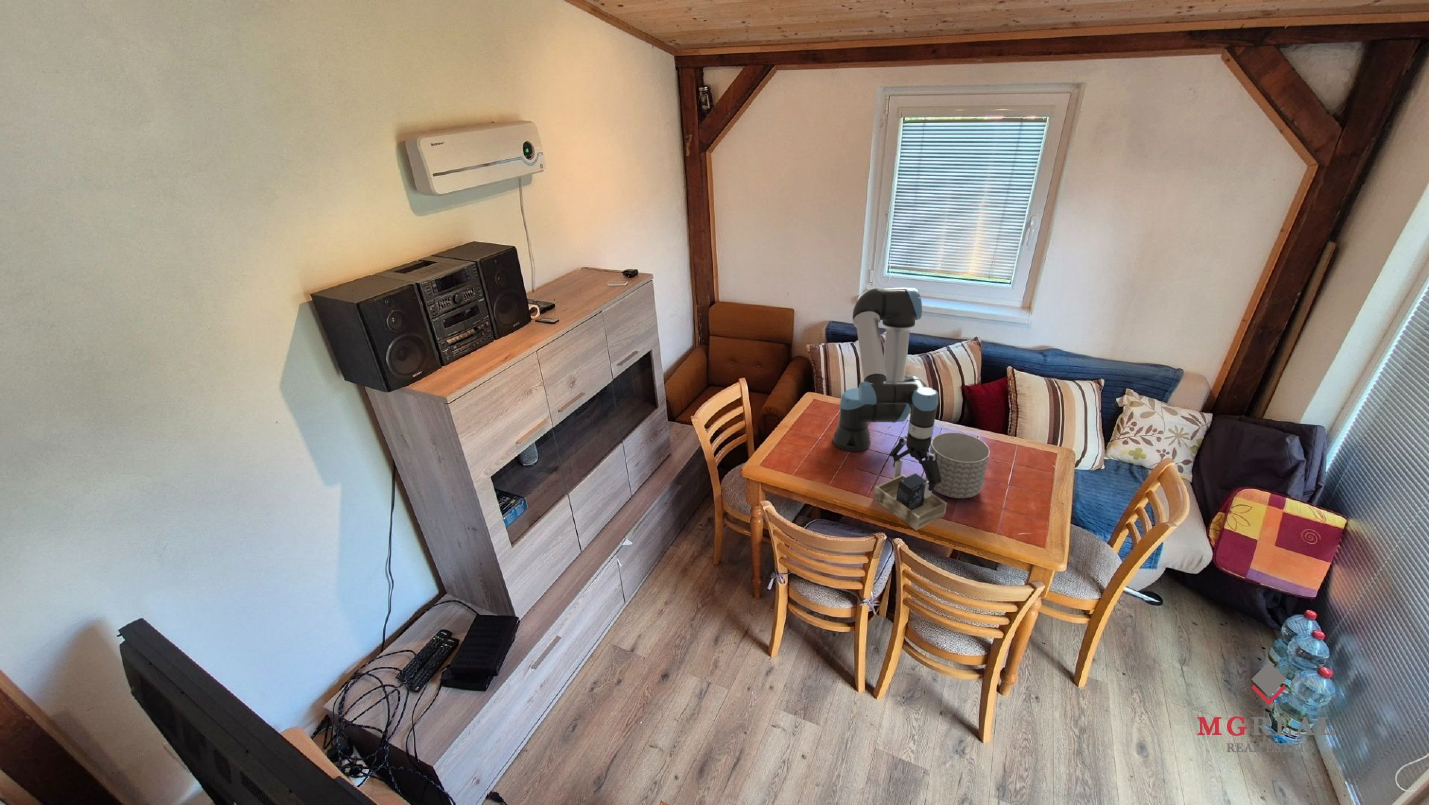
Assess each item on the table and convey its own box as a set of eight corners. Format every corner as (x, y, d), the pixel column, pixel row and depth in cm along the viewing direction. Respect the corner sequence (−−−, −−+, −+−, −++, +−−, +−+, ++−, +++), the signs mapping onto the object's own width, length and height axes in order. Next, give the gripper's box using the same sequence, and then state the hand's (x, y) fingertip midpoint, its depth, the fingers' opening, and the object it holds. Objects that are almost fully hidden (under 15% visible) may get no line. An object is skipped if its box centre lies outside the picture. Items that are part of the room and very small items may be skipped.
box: (907, 513, 192) (911, 488, 187) (895, 504, 196) (898, 479, 191) (923, 505, 195) (928, 480, 190) (911, 496, 199) (915, 472, 194)
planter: (975, 475, 210) (984, 434, 201) (984, 507, 194) (995, 465, 185) (921, 470, 214) (928, 430, 206) (926, 501, 198) (934, 459, 189)
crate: (872, 499, 201) (874, 487, 198) (901, 486, 207) (902, 474, 204) (915, 531, 186) (917, 518, 183) (944, 515, 192) (947, 503, 189)
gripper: (883, 420, 189) (877, 471, 200) (943, 455, 170) (933, 509, 181) (899, 414, 193) (892, 464, 203) (960, 447, 173) (949, 501, 184)
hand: (911, 486), depth 192 cm, fingers open, 13 cm apart
